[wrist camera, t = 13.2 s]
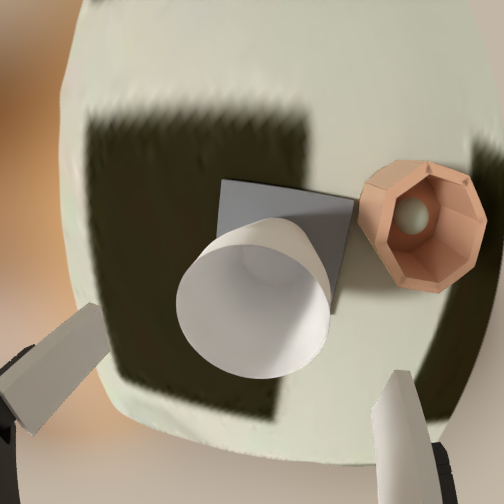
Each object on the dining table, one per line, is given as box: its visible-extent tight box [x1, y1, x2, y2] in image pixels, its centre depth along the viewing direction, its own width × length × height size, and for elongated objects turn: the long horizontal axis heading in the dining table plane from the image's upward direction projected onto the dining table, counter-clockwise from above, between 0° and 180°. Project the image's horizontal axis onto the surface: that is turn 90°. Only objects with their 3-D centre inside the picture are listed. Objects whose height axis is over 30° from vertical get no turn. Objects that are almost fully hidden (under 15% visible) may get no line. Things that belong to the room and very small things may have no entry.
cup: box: [176, 218, 331, 379], centre depth 21 cm, size 9×9×12 cm
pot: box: [357, 160, 487, 294], centre depth 20 cm, size 9×9×8 cm
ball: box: [394, 197, 429, 235], centre depth 21 cm, size 3×3×3 cm
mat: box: [216, 179, 354, 305], centre depth 26 cm, size 12×12×1 cm
